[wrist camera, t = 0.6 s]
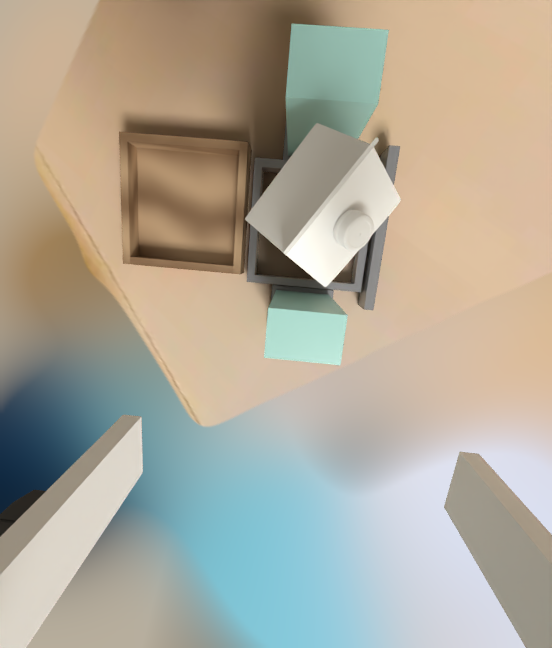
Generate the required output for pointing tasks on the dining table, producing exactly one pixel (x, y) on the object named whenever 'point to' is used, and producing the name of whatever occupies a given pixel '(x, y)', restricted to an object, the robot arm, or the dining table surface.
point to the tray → (184, 201)
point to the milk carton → (325, 202)
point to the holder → (301, 115)
